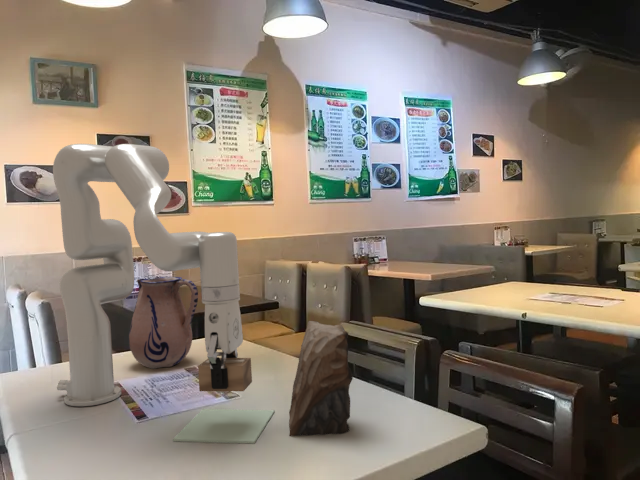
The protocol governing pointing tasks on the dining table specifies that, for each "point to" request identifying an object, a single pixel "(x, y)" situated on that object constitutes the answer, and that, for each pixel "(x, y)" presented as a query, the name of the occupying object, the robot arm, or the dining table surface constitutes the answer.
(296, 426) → the brown rock
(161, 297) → the ceramic pitcher
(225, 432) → the mat
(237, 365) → the cardboard box
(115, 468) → the dining table surface
